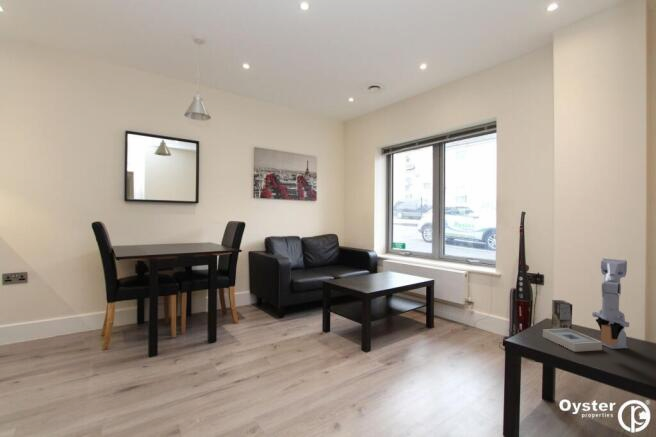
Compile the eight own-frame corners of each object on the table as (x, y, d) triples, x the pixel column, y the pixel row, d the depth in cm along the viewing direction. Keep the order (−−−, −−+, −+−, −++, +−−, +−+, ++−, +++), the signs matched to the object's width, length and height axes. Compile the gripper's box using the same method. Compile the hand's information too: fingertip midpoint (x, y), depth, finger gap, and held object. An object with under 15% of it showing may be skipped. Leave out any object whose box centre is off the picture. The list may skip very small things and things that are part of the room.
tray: (568, 335, 170) (568, 328, 170) (602, 349, 152) (602, 341, 152) (542, 336, 167) (543, 329, 167) (574, 351, 150) (574, 343, 149)
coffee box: (572, 333, 173) (573, 304, 173) (559, 332, 175) (560, 303, 174) (563, 327, 182) (564, 300, 182) (551, 326, 184) (551, 299, 183)
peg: (608, 341, 146) (608, 324, 146) (617, 344, 142) (617, 327, 142) (600, 341, 145) (601, 324, 145) (610, 345, 141) (610, 327, 141)
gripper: (587, 303, 150) (586, 331, 150) (620, 313, 135) (619, 343, 136) (599, 303, 151) (598, 330, 151) (633, 312, 136) (632, 343, 137)
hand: (609, 336), depth 143 cm, fingers closed on peg, 4 cm apart
